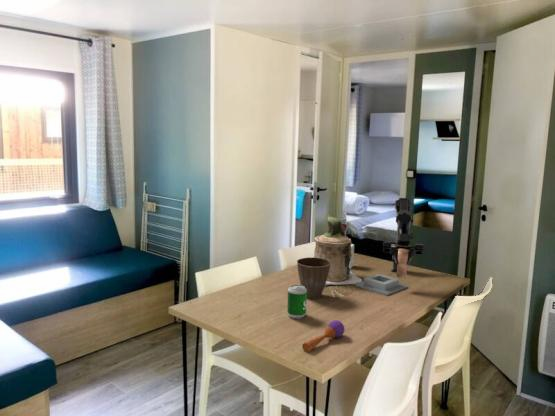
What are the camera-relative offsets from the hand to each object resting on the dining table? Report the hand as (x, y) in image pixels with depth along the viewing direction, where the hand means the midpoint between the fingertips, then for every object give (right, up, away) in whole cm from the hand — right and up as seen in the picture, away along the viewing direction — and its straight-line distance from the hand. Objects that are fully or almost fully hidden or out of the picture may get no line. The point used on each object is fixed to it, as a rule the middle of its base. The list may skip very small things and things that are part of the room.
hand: (402, 263), depth 211 cm
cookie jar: (-31, -10, +21) cm, 38 cm away
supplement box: (-20, -7, +42) cm, 47 cm away
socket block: (-8, -12, +8) cm, 17 cm away
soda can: (-51, -17, -30) cm, 61 cm away
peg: (0, -6, +2) cm, 7 cm away
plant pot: (-42, -14, -7) cm, 45 cm away
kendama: (-42, -21, -53) cm, 71 cm away
